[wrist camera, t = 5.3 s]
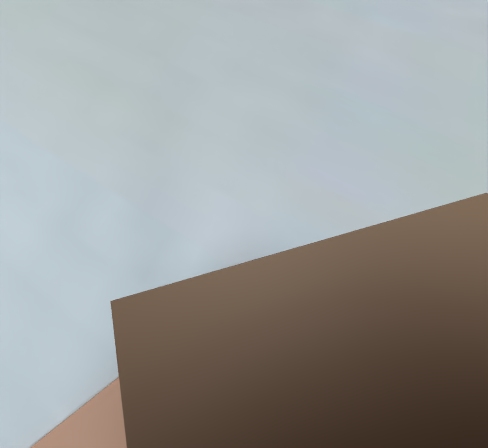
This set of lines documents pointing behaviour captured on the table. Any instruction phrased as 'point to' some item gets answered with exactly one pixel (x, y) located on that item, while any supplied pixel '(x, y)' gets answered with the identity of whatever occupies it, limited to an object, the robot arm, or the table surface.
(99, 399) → the terracotta mat
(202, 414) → the walnut block
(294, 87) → the table surface
